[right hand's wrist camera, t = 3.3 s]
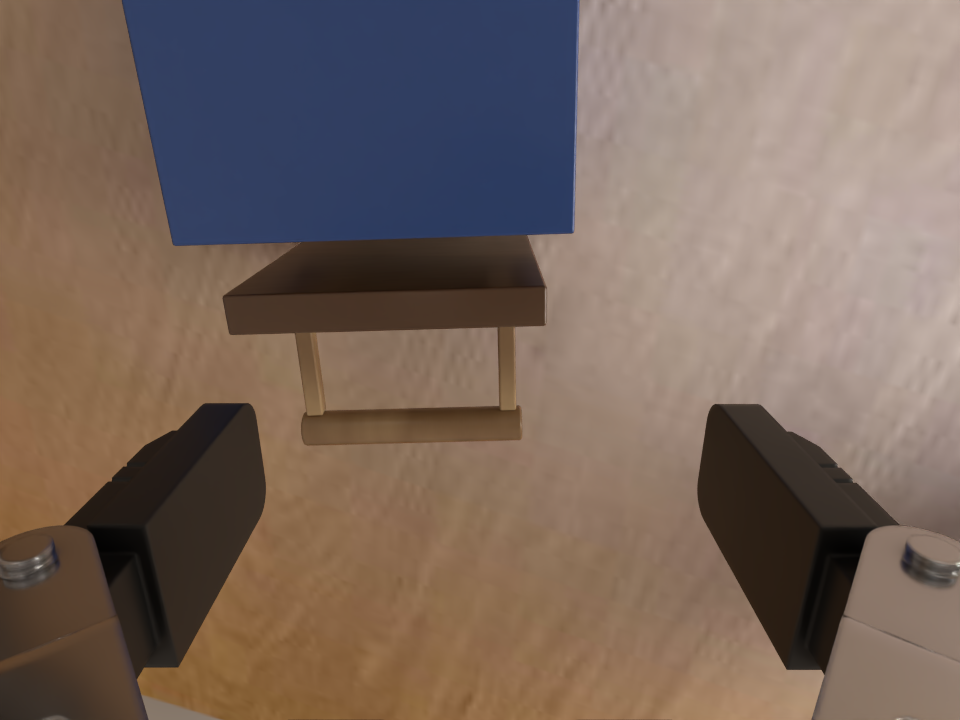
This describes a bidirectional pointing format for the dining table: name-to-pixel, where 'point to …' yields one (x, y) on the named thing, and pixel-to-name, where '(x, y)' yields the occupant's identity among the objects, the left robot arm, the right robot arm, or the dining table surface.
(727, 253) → the dining table surface
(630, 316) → the dining table surface
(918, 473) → the dining table surface
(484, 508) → the dining table surface
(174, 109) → the cabinet
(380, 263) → the drawer
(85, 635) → the right robot arm
